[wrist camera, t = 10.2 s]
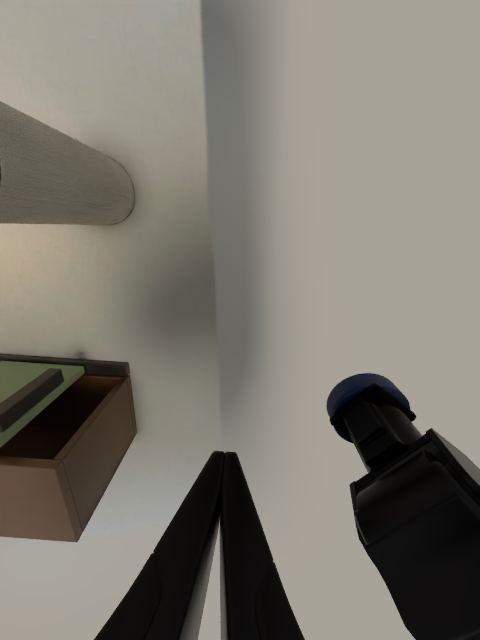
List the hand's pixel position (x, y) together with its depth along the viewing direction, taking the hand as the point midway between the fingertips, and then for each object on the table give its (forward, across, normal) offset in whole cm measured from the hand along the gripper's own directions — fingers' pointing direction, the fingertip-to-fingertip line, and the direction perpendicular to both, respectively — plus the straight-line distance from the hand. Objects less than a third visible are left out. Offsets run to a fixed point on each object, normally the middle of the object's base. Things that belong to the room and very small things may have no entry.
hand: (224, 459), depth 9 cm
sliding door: (+12, +18, +5) cm, 22 cm away
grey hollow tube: (+13, +10, -10) cm, 19 cm away
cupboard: (+13, +18, +10) cm, 24 cm away
